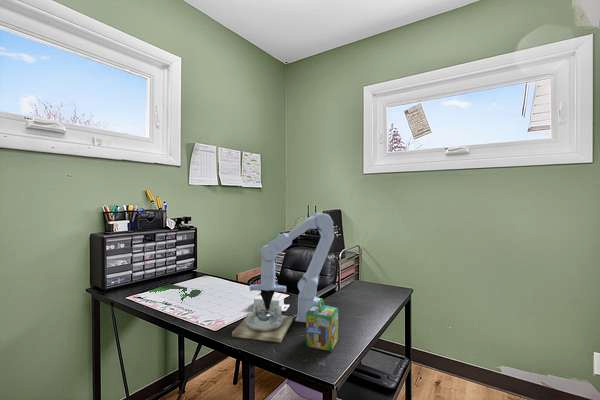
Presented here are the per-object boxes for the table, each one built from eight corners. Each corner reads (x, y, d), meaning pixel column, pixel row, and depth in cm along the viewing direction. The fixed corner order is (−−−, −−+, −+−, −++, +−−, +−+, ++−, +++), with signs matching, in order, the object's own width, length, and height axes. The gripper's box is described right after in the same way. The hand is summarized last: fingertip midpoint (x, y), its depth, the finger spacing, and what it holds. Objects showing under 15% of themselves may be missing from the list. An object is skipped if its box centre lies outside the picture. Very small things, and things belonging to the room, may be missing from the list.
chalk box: (331, 353, 91) (332, 307, 91) (305, 346, 95) (305, 302, 95) (339, 339, 100) (339, 297, 100) (314, 334, 103) (315, 294, 103)
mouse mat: (207, 292, 148) (207, 290, 148) (174, 306, 128) (174, 304, 128) (168, 285, 159) (168, 283, 159) (132, 297, 139) (132, 295, 139)
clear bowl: (287, 317, 113) (287, 305, 113) (276, 333, 100) (277, 319, 100) (253, 314, 116) (254, 302, 116) (239, 329, 102) (239, 315, 102)
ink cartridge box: (260, 292, 134) (290, 294, 131) (260, 302, 134) (290, 305, 131) (253, 298, 125) (285, 301, 122) (253, 309, 125) (285, 312, 122)
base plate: (292, 320, 115) (293, 316, 115) (280, 342, 97) (280, 337, 97) (251, 315, 119) (251, 312, 119) (232, 336, 101) (232, 331, 101)
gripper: (287, 273, 117) (286, 305, 117) (252, 271, 118) (252, 304, 118) (285, 277, 110) (284, 312, 110) (248, 276, 111) (247, 311, 111)
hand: (267, 308), depth 114 cm, fingers closed
